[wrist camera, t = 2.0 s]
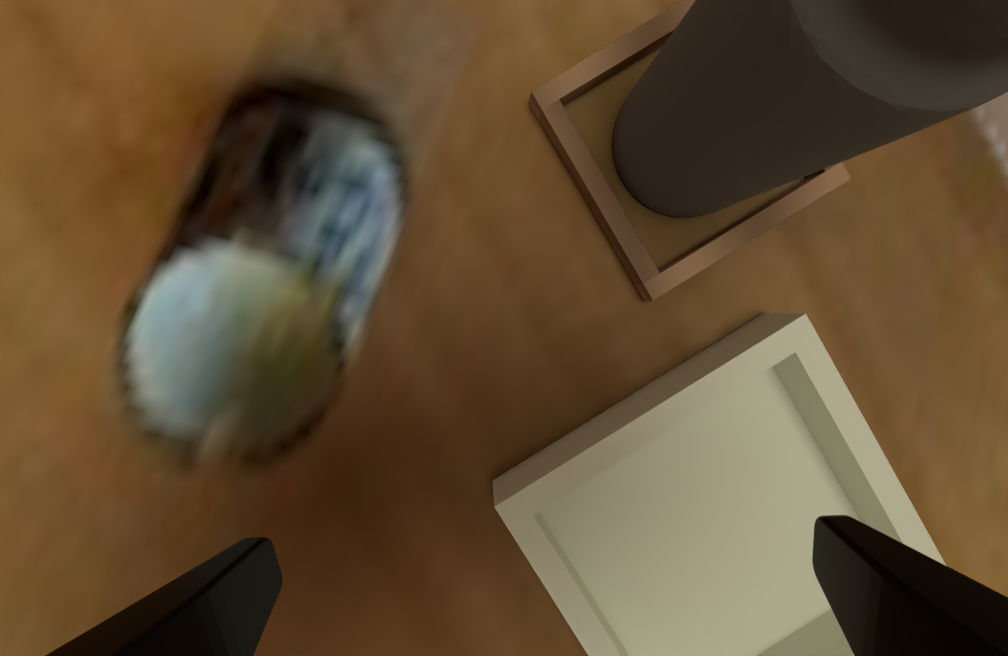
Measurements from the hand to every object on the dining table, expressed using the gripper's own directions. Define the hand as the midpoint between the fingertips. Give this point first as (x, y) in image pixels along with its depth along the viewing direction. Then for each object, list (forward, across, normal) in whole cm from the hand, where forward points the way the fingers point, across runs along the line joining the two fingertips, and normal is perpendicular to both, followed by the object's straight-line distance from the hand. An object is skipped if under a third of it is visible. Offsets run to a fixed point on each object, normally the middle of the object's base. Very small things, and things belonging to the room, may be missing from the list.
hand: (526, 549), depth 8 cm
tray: (+11, -6, +8) cm, 15 cm away
